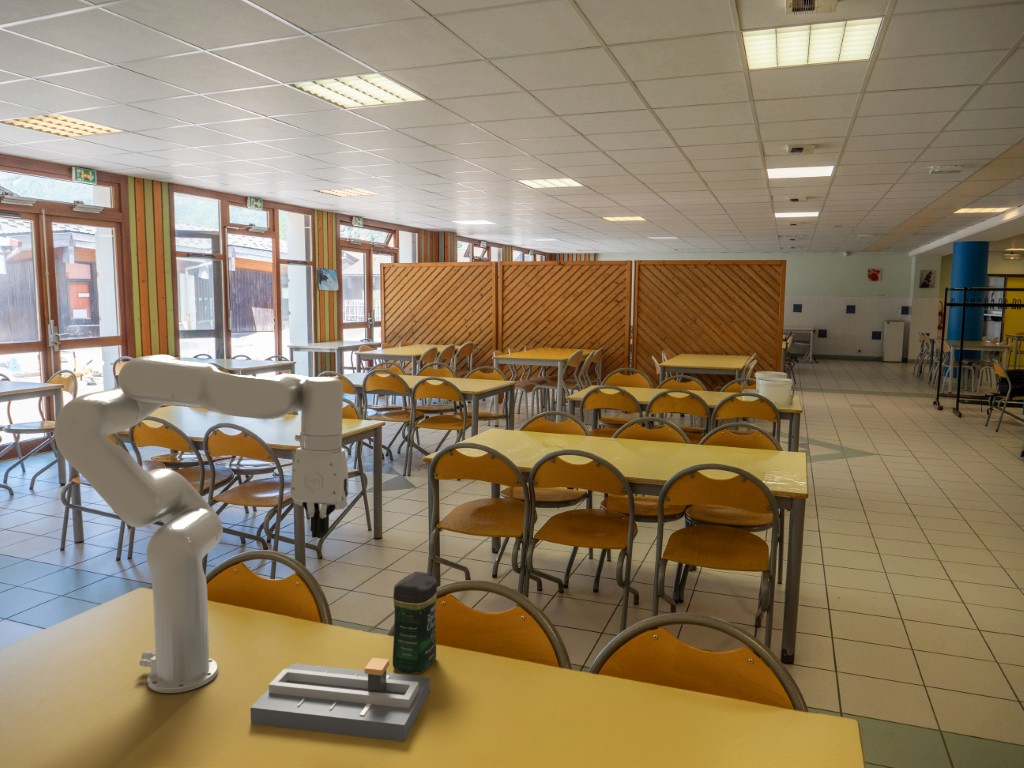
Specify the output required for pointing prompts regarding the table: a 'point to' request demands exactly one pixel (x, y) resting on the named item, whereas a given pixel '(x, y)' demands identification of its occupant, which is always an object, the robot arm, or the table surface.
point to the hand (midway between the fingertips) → (319, 535)
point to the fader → (377, 674)
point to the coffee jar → (415, 623)
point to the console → (341, 702)
